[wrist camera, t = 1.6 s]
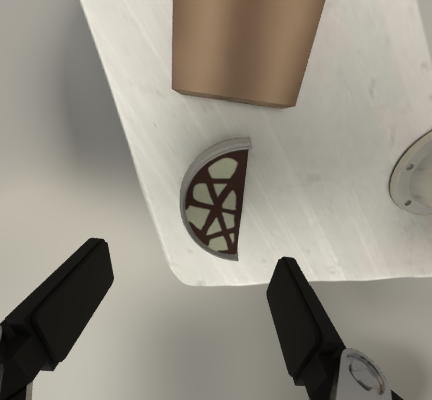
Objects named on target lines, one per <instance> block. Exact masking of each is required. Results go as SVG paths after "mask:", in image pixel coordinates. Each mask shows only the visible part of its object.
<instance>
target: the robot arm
mask: <svg viewBox="0 0 432 400" xmlns="http://www.w3.org/2000/svg"><path fill="white" fill-rule="evenodd" d="M390 193H391V196H392V199H393V200H394V202H395V203H396V204H397V205H398V206H399V207H400V208H402V209H404V210H406V211H408V212H411V213H414V214H420V215H432V131H431V132H430V133H428V134H427V135H425V136H424V137H423V138H421V139H420V140H418V141H417V142H416V143H415V144H414V145H413V146H412V147H411V148H410V149H409V150H408V151H407V152H406V153H405V155H404V156H403V157H402V158H401V160H400V161H399V163H398V164H397V166H396V168H395V170H394V172H393V175H392V178H391V183H390ZM113 280H114V276H113V271H112V264H111V259H110V253H109V248H108V243H107V242H105V240H104V239H99V238H90V239H88V240H87V241H86V242H85V243H84V244H83V245H82V246H81V247H80V248H79V249H78V250H77V251H76V252H75V253H74V254H72V255H71V256H70V257H69V258H68V259H67V260H66V261H65V262H64V263H63V264H62V265H61V266H60V267H59V268H58V269H57V270H55V271H54V272H53V273H52V274H51V275H50V276H49V277H48V278H47V279H46V280H45V281H44V282H43V283H42V284H41V285H40V286H39V287H38V288H36V289H35V290H34V291H33V292H32V293H31V294H30V295H29V296H28V297H27V298H26V299H25V300H24V301H23V302H22V303H21V304H19V305H18V306H17V307H16V308H15V309H14V310H13V311H12V312H11V313H10V314H9V315H8V316H7V317H6V318H5V320H4V321H2V322H1V323H0V400H32V386H33V380H34V378H35V377H36V375H37V374H38V373H39V371H40V370H42V371H54V369H55V368H56V366H57V365H58V363H59V362H62V361H63V360H64V359H65V358H66V356H67V355H68V353H69V352H70V350H71V349H72V347H73V345H74V344H75V342H76V341H77V339H78V338H79V336H80V334H81V333H82V331H83V330H84V328H85V326H86V325H87V323H88V322H89V320H90V318H91V317H92V315H93V314H94V312H95V310H96V309H97V307H98V306H99V304H100V302H101V301H102V299H103V298H104V296H105V295H106V293H107V292H108V290H109V288H110V287H111V285H112V283H113ZM267 300H268V303H269V307H270V310H271V314H272V317H273V321H274V324H275V328H276V331H277V335H278V338H279V342H280V345H281V349H282V352H283V356H284V360H285V363H286V367H287V370H288V373H289V375H290V376H291V377H293V380H294V383H295V385H296V386H305V387H306V390H307V393H308V396H309V400H403V399H402V398H400V397H399V396H398V395H397V394H396V393H394V392H393V391H392V390H391V389H390V386H389V383H388V381H387V379H386V377H385V375H384V374H383V372H382V371H381V369H380V368H379V367H378V366H377V365H376V364H375V363H374V361H373V360H371V359H370V358H369V357H368V356H367V355H365V354H364V353H362V352H360V351H359V350H356V349H352V348H346V347H345V345H344V343H343V342H342V340H341V338H340V336H339V335H338V333H337V331H336V329H335V327H334V326H333V324H332V322H331V321H330V319H329V317H328V315H327V313H326V312H325V310H324V308H323V306H322V304H321V303H320V301H319V299H318V297H317V296H316V294H315V292H314V290H313V289H312V287H311V286H310V285H309V283H308V281H307V280H306V278H305V276H304V274H303V272H302V271H301V269H300V267H299V265H298V264H297V262H296V260H295V259H294V258H292V257H282V258H281V259H279V260H278V262H277V265H276V268H275V270H274V273H273V276H272V278H271V281H270V284H269V286H268V289H267Z"/></svg>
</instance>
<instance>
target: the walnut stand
mask: <svg viewBox="0 0 432 400" xmlns="http://www.w3.org/2000/svg"><path fill="white" fill-rule="evenodd" d="M324 3H325V0H173V29H172V89H173V90H175V91H177V92H178V93H180V94H184V95H191V96H198V97H205V98H212V99H219V100H226V101H233V102H240V103H247V104H254V105H261V106H268V107H275V108H288V107H294V106H295V105H296V101H297V98H298V94H299V91H300V87H301V84H302V80H303V77H304V73H305V70H306V66H307V63H308V59H309V56H310V52H311V49H312V45H313V42H314V38H315V35H316V31H317V28H318V24H319V21H320V17H321V14H322V10H323V7H324Z"/></svg>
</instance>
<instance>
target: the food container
mask: <svg viewBox="0 0 432 400" xmlns="http://www.w3.org/2000/svg"><path fill="white" fill-rule="evenodd" d="M248 149H252V147H251V141H250V138H249V137H247V138H236V139H231V140H226V141H224V142H221V143H219V144H216V145H214V146H212V147H211V148H209V149H207V150H206V151H204V152H203V153H202V154H201V155H200V156H198V157H197V158H196V160H195V161H194V162H193V163H192V164H191V165H190V167H189V169H188V170H187V172H186V174H185V176H184V179H183V181H182V185H181V190H180V212H181V217H182V220H183V223H184V225H185V228H186V230H187V231H188V233H189V235H190V236H191V238H192V239H193V240H194V242H195V243H197V244H198V245H199V246H200V247H201V248H202V249H204V250H205V251H206V252H208V253H210V254H212V255H214V256H216V257H219V258H222V259H226V260H231V261H238V251H237V249H238V247H237V245H238V236H239V228H240V220H241V213H242V204H243V194H244V185H245V176H246V167H247V158H248Z"/></svg>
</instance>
